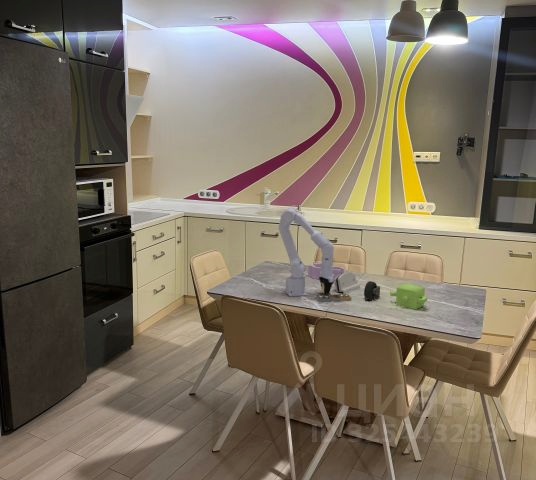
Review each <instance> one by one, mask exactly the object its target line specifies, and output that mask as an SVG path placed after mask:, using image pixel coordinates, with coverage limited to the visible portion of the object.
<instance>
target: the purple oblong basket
mask: <svg viewBox="0 0 536 480" xmlns="http://www.w3.org/2000/svg"><path fill="white" fill-rule="evenodd" d="M307 268H308V269H307V277H308V278H309V277H310V278H312V279H313V278H314V279H313V280H319V277H321V276H320V271H321V263H320V262H319V263H318V262H313V264H308V265H307ZM344 271H345V268H344V267H342V266H338V265H337V266H334V265H333V268H332V274H334V276H333V281H334V279H335V278H336V277H337V276H338V275H340V274H342V273H345V272H344ZM319 281H320V280H319Z"/></svg>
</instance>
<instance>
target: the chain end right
mask: <svg viewBox="0 0 536 480" xmlns="http://www.w3.org/2000/svg"><path fill="white" fill-rule="evenodd" d="M328 296H329V297H330V298H341V301H340V302H351V301H352V296H350V295H349V294H348V293H346V294H343V293H342V294H341V293H340V294H335V293H334V294H331V295H328Z"/></svg>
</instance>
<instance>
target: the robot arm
mask: <svg viewBox="0 0 536 480" xmlns="http://www.w3.org/2000/svg"><path fill="white" fill-rule="evenodd" d="M278 223H279V224H278V232H279V233H280V236H281V239H282V241H283V245H284V248H285V251H286V254H287V257H288V259H289V263H290V264H289V266H290V274H291V275H290V276H288V277H287V276H286V281H285V291H284V292H285V293H286V294H287V295H288V296H289V297H298V296H308V293H306V291H305V289H306V288H305V287H306V275H305V271H306V265H305V264H304V263H303V261H302V259H301V258H300V255H299V253H298V250H297V247H296V244H295V241H294V239H293V236H292V232H291V231H290V227H291V225H292V223H293V224H297V225H299V226H300V227H302V228H303V229H304V230H305V231H306V232H307V234H309V235H310V240H311V241H312V242H313V243H314V244H315V246H317V247H318V248H319V249H320V252H321V259H320V260H321V261H320V262H321V271H320V276H321V277H319V282H320V288H321V289H322V284H321V282H323V284H324V291H325V294H329V293H330V294H331V289H332V286H333V285H334V284H335V283H334V281H333V276H334V274H332V268H333V266H334V265H333V264H334V257H333V256H334V249H335V247H334V244H333V243H332V241H330V240H329V239H327V237H325V235H324V233H323V232H322V231H320V230H316V229H314V227H312V225H311V224H310V223H309V221H308V220H307V219H306V218H305V217H304V216H303V215H302V214H301V213H300V212H299V211H297V209H296V208H294V207H288V208H287V209H285V210H284V211H283V212H282V214H281V215H280V219H279V222H278Z"/></svg>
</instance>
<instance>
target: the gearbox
mask: <svg viewBox="0 0 536 480" xmlns="http://www.w3.org/2000/svg"><path fill="white" fill-rule="evenodd" d="M389 295H390V297H396V299H395V305H396V306H399V307H403V308H407V309H412V310H417V309H419V308H422V307H423V306H424V304H425V303H427V301H428V296H425V287H423V286H420V285H415V284H412V283H411V284H410V283H402V284H400V285H399V286H397V287H396V291H390V292H389Z"/></svg>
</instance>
